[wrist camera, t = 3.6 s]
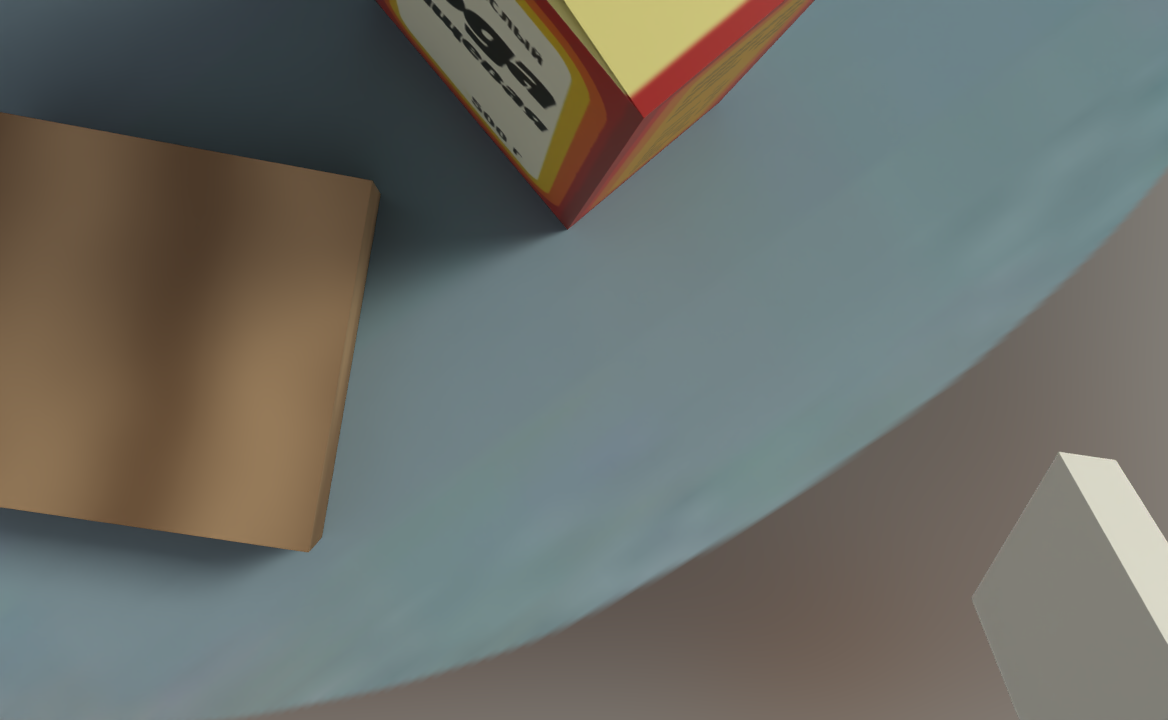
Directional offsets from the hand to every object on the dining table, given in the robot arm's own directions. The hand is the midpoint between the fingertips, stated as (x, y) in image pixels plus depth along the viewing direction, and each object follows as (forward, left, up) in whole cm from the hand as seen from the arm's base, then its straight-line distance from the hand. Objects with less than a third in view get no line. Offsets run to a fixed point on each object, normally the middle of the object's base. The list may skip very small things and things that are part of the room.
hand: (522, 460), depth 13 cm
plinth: (-10, 0, -20) cm, 23 cm away
